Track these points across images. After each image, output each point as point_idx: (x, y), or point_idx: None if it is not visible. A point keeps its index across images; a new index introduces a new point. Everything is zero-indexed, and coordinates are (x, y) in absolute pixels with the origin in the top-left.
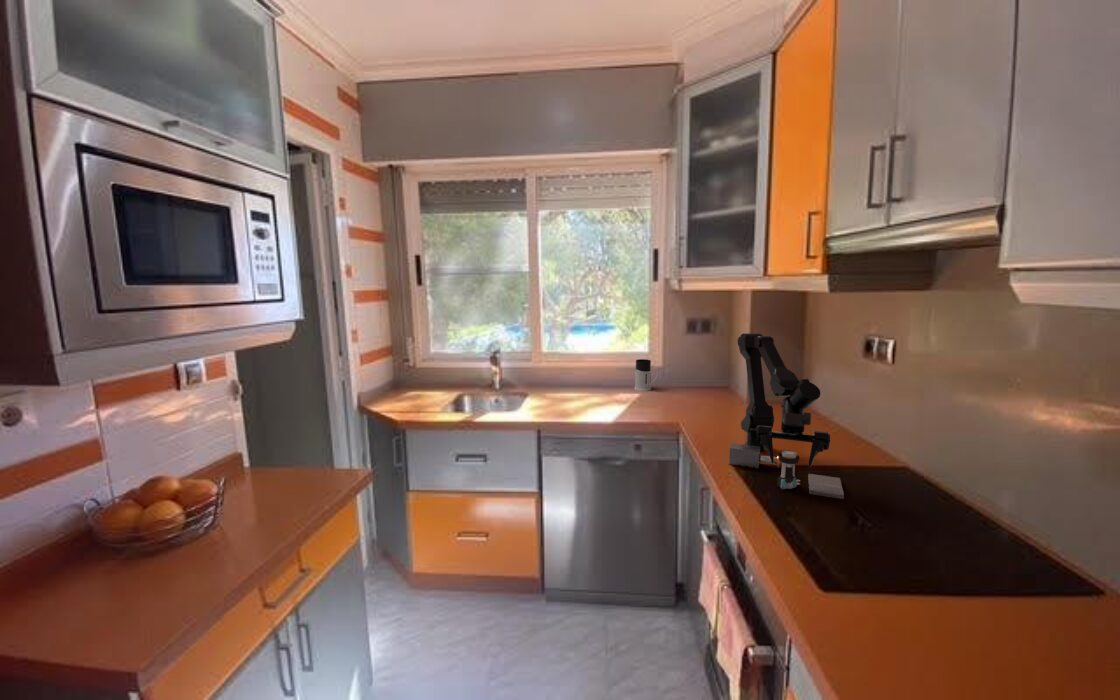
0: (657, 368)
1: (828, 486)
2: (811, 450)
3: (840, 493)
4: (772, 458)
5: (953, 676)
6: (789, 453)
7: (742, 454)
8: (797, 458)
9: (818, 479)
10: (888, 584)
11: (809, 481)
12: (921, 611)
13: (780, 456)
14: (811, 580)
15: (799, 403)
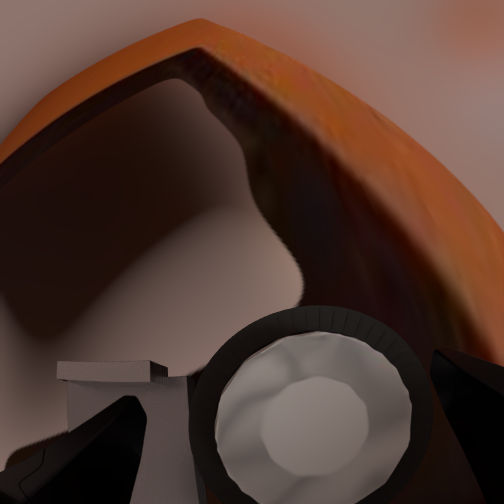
0: None
1: (95, 362)
2: (41, 479)
3: (75, 385)
4: (454, 355)
5: (126, 49)
6: (304, 379)
7: None
8: (208, 379)
9: None
10: (120, 87)
11: (194, 488)
12: (109, 77)
13: (397, 340)
14: (208, 50)
15: None
